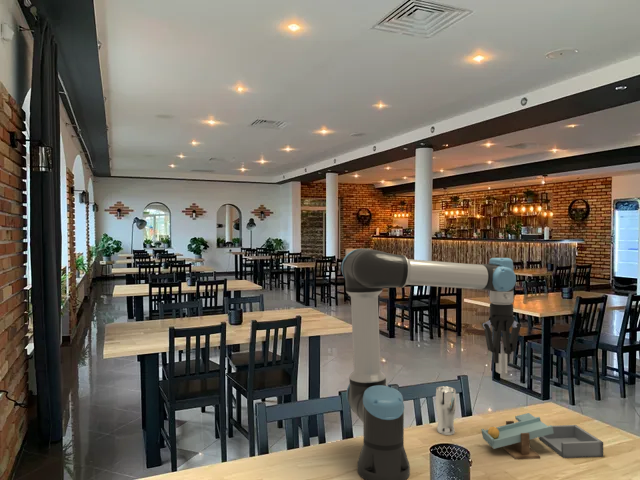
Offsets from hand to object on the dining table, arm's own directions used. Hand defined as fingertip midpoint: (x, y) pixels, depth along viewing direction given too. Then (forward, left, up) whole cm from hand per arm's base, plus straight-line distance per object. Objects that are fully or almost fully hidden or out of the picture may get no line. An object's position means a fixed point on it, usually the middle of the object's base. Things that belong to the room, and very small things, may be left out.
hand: (501, 372), depth 163 cm
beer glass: (-17, +7, -23) cm, 29 cm away
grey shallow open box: (+19, -9, -22) cm, 31 cm away
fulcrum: (+1, -9, -22) cm, 24 cm away
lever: (+1, -6, -18) cm, 19 cm away
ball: (-7, -9, -17) cm, 20 cm away
